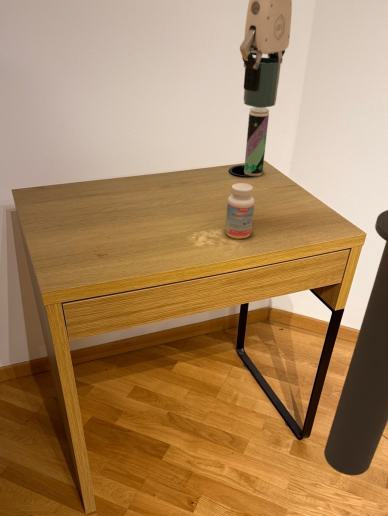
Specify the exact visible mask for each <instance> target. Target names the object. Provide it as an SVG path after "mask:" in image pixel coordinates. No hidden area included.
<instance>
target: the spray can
mask: <svg viewBox="0 0 388 516" xmlns="http://www.w3.org/2000/svg"><path fill="white" fill-rule="evenodd" d="M269 118H270V109H269V108H268V107H253V106H251V107H250V108H249V113H248V121H247V122H248V124H247V133H246V147H245V157H244V169H243V172H244V175H246V176H250V177H260V176H262V175H263V171H264V162H265V155H266V154H265V152H266V145H267V144H266V143H267V136H268V135H267V134H268V127H269Z"/></svg>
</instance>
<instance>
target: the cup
mask: <svg viewBox="0 0 388 516" xmlns="http://www.w3.org/2000/svg"><path fill="white" fill-rule="evenodd" d="M253 58H254V60H255V58H256V57H253ZM280 63H281V61H280V60H278V59H273V58H268V57H263V56H262V57H261V60H260V63H259V66H258V69H260V75H259V85H258V91H250V90H245V89H244V88H243V89H244V90H243V97H242V99H243V101H242V103H243V104H244V105H245V106H249V107H266V108H269V107H274V106H276V102H277V95H278V87H279V82H278V80H280V74H279V72H280V73H281V66H280ZM281 64H282V63H281Z"/></svg>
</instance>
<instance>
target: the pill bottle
mask: <svg viewBox="0 0 388 516" xmlns="http://www.w3.org/2000/svg"><path fill="white" fill-rule="evenodd" d="M253 193H254V187H253V186H252V185H251V184H249V183H245V182H237V183H233V184H232V186H231V194H230V195H229V197H228V198H227V205H226V218H225V230H224V231H225V234H226V235H227V236H228V237H230V238H233V239H240V240H241V239H246V238H248V237H250V236H251V234H252V230H253V229H252V227H253V218H254V210H255V198H254V197H253V196H252V195H253Z"/></svg>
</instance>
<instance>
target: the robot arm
mask: <svg viewBox="0 0 388 516" xmlns="http://www.w3.org/2000/svg"><path fill="white" fill-rule="evenodd" d="M292 7H293V0H248V4H247V10H246V19H245V25H244V26H245V27H244V36H243V38H244V39H243V41H242V42H241V44H240V45H239V52H240V54H241V57H242V61H243V67H244V78H243V89H245V90H250V91H258V85H259V75H260V69H258V66H259V63H260V60H261V57H262V58H263V55H267V58H273V59H278V60H280V61H281V63H280V67H281V66H282V65H281V64H283V61H284V60H283V57H284V55H285V53H286V50H287V49H288V47H289V45H290V36H291V25H292V9H293V8H292ZM254 56H255V57H254ZM254 58H255V60H254ZM280 73H281V71H280V72H279V75H280ZM279 80H280V79H279ZM279 80H278V83H279Z"/></svg>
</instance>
